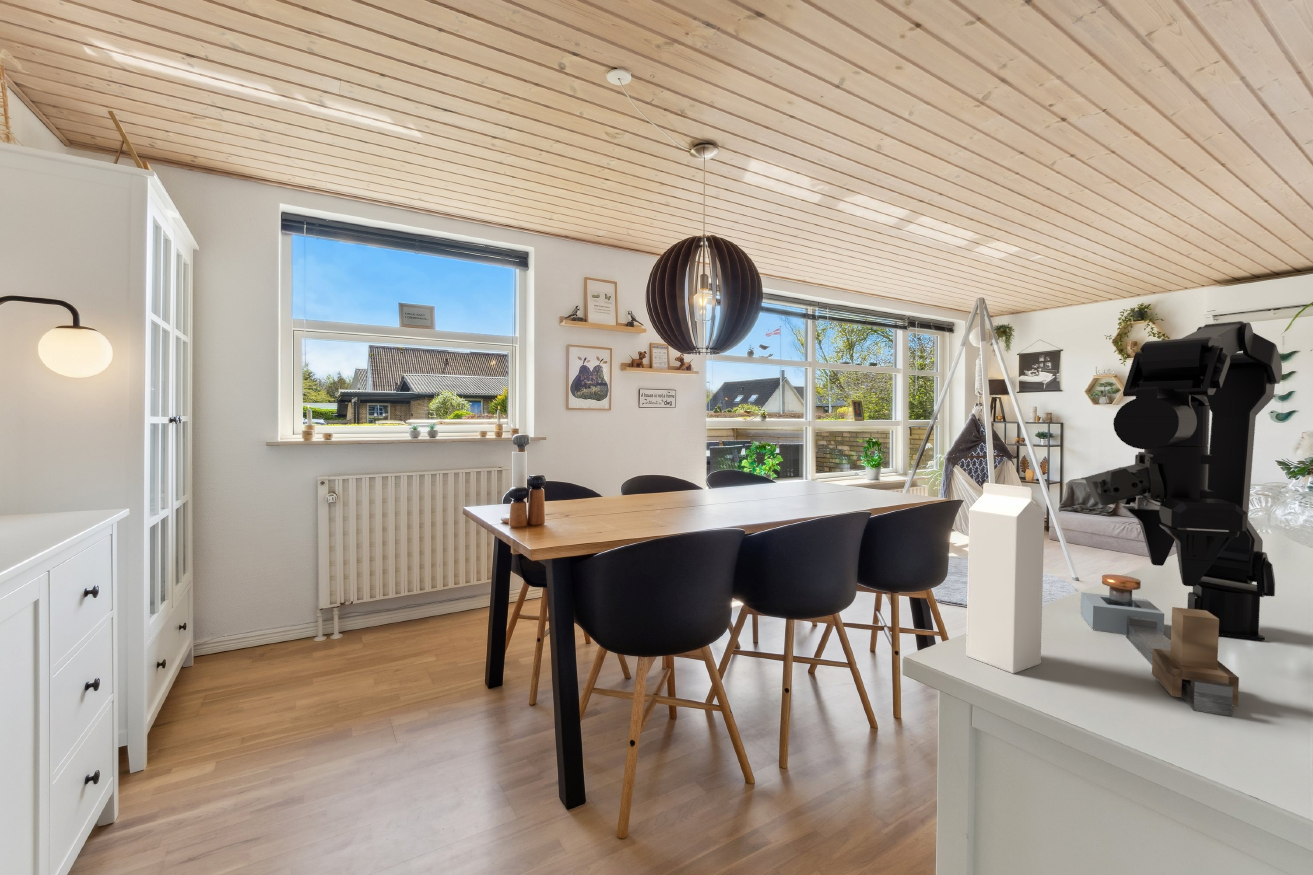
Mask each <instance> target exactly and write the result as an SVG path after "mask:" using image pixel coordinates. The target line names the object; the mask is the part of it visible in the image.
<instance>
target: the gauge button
mask: <svg viewBox="0 0 1313 875" xmlns="http://www.w3.org/2000/svg"><path fill="white" fill-rule="evenodd" d="M1101 584H1103V585H1104V586H1107V587H1109V590H1108V591H1109V593H1108V595H1109V605H1116V606H1125V607H1132V598H1133V591H1135V590H1140V589H1141V586H1142V582H1141V580H1140V579H1139V578H1136V577H1133V576H1127V575H1123V574H1122V575H1121V574H1112V573H1111V574H1102V575H1101Z"/></svg>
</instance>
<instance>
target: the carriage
mask: <svg viewBox="0 0 1313 875" xmlns="http://www.w3.org/2000/svg"><path fill="white" fill-rule="evenodd" d="M1170 632H1171V633H1170V641H1171V651H1170V650H1162V649H1154V648H1153V651H1152V665H1151V675H1152V676H1153V677H1154V678H1155V679H1156V680H1157V681H1158V682H1159V683H1160V685H1161V686H1162V687H1163V688H1164V689H1165V690H1166V691H1167V692H1168V693H1169V695H1170V696H1171V697H1177V698H1182V697H1181V688H1182V679H1186V680H1191V678H1195V679H1201V680H1208V681H1215V682H1222V683H1228V684H1230V685H1231V686H1232V687H1233V699H1232V706H1234V707H1239V690H1240V689H1239V687H1240V686H1239V685H1240V677H1239V676H1237V675H1236V674H1235V673H1234V672H1233V671H1231V670H1230V668H1227V667H1226V666H1225V665H1224V664H1223V663H1222V662H1220V660H1219V659H1218V658H1219V654H1218V653H1219V636H1220V635H1219V619H1218V618H1217V617H1215V616H1214V615H1212V614H1211V613H1209V612H1208V611H1205V610H1196V609H1187V607H1186V608H1185V607H1176V606H1172V608H1171V631H1170Z"/></svg>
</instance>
